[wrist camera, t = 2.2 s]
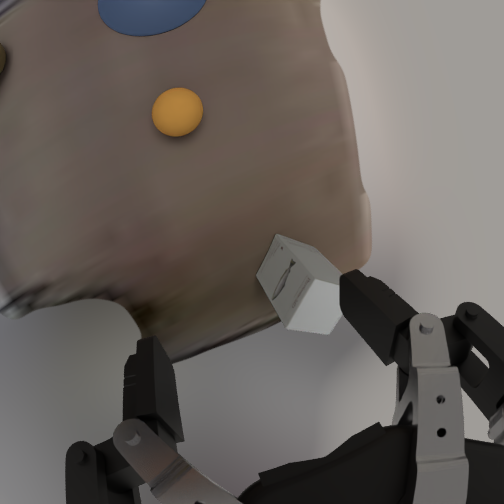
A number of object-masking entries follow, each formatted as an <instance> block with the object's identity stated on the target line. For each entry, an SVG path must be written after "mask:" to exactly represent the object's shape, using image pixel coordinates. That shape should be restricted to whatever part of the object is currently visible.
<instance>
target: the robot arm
mask: <svg viewBox="0 0 504 504" xmlns="http://www.w3.org/2000/svg"><path fill="white" fill-rule="evenodd" d="M339 304H340V309H341V311H342V314H343V315H344V317H345V318H346V319H347V320H348V321H349V322H350V324H351V325H352V326H353V327H354V328H355V330H356V331H357V332H358V333H359V334H360V336H361V337H362V338H363V339H364V340H365V341H366V343H367V344H368V345H369V346H370V347H371V349H372V350H373V351H374V352H375V353H376V355H377V356H378V357H379V358H380V359H381V361H382V362H383V363H384V364H385V365H386V366H387V365H389V364H391V363H393V362H394V361H395V362H396V363H397V364H398V367H397V386H396V387H397V388H396V407H395V412H394V416H393V421H392V425H390V426H385V427H382V426H381V424H380V423H379V422H378V423H376V424H374V425H372V426H370V427H368V428H366V429H365V430H363V431H361V432H359V433H357V434H355V435H353V436H351V437H350V438H349V439H348V440H347V441H345V442H344V443H343V444H342V445H341V446H339V447H338V448H337V449H335V450H334V451H333V452H331V453H330V454H329V455H327V456H326V457H323V458H318V459H312V460H306V461H300V462H293V463H288V464H285V465H282V466H280V467H277V468H274V469H271V470H267V471H264V472H261V473H259V477H260V479H259V480H258V481H256V482H254V483H253V484H252V485H250V486H249V487H248V488H247V489H245V491H243V492H242V493H241V495H240V496H239V497H238V498H237V497H235V496H234V495H232V494H231V493H229V492H228V491H226V490H225V489H223V488H222V487H220V486H219V485H218V484H216V483H215V482H213V481H212V480H211V479H209V478H208V477H207V476H205V475H204V474H203V473H202V472H200V471H199V470H198V469H196V468H195V467H194V466H193V465H192V464H190V463H189V462H188V461H187V460H186V459H184V458H183V457H182V456H181V455H180V454H178V452H177V446H176V443H178V442H183V441H184V435H183V430H182V423H181V417H180V410H179V404H178V396H177V389H176V382H175V381H176V380H175V373H174V369H173V366H172V363H171V361H170V359H169V357H168V356H167V354H166V352H165V350H164V349H163V347H162V345H161V343H160V342H159V340H158V338H157V337H156V336H151V337H147V338H144V339H140V340H138V341H137V351H136V354H134V355H130V356H129V358H128V360H127V362H126V364H125V367H124V378H125V379H124V388H123V421H122V422H121V423H120V424H119V425H118V426H117V427H116V429H115V431H114V433H113V437H112V438H110V439H108V440H106V441H104V442H102V443H100V444H97V445H95V446H92V445H91V444H89V443H88V442H84V441H78V442H76V443H74V444H72V445H71V447H69V449H68V451H67V454H66V467H65V468H66V469H65V478H66V480H65V481H66V504H141V499H140V493H139V487H138V486H139V485H142V484H144V483H147V484H148V485H149V486H150V487H151V493H152V494H153V495H154V496H155V497H156V498H157V499H158V500H159V501H160V502H161V503H162V504H504V327H503V326H502V325H501V324H500V323H499V322H498V321H496V320H495V319H494V318H493V317H492V316H491V315H490V314H488V313H487V312H486V311H485V310H484V309H482V308H481V307H480V306H479V305H477V304H475V303H472V302H464V303H462V304H460V305H459V306H458V308H457V310H456V313H455V315H452V316H448V317H444V318H441V319H439V318H438V317H437V316H435V315H433V314H430V313H420V314H419V313H418V312H416V311H415V310H414V309H413V308H412V307H411V306H410V305H409V304H408V303H406V302H405V301H404V300H403V299H402V298H401V297H400V296H398V295H397V294H395V292H394V291H393V290H392V289H389V287H388V286H387V285H385V283H383V282H382V281H381V280H378V279H376V278H374V277H371V276H370V277H366V276H365V275H364V274H363V273H361V272H360V271H359V270H357V269H355V270H353V271H350V272H348V273H345V274H342V275H341V276H340V278H339ZM473 346H474V347H475V348H476V349H477V350H478V351H479V352H480V353H481V354H482V355H483V356H484V357H485V358H486V359H487V361H488V363H489V368H488V367H487V366H486V365H485V364H484V363H483V362H482V361H481V360H480V359H479V358H478V357H477V356H476V355H475V354H474V353H473V352H472V351H471V350H472V348H473ZM461 388H462V389H463V390H464V391H465V392H466V393H467V395H468V396H469V397H470V398H471V399H472V401H473V402H474V403H475V404H476V405H477V407H478V408H479V409H480V411H481V412H482V413H483V414H484V416H485V417H486V418H487V419H488V420H489V431H488V437H489V438H490V439H494V443H490V442H484V441H478V440H472V439H467V438H464V417H463V405H462V394H461Z"/></svg>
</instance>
